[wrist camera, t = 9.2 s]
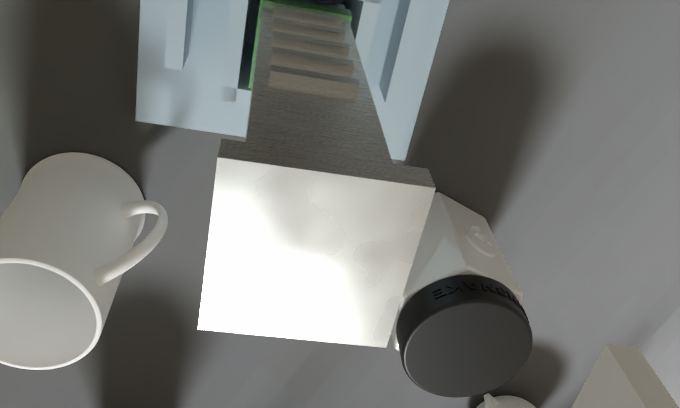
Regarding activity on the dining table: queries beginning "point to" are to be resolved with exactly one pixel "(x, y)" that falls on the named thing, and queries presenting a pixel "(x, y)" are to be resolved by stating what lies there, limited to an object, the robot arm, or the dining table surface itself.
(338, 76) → the column
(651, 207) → the dining table surface
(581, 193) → the dining table surface
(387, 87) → the stand base
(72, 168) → the mug
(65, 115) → the dining table surface
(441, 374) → the jar
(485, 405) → the teacup
